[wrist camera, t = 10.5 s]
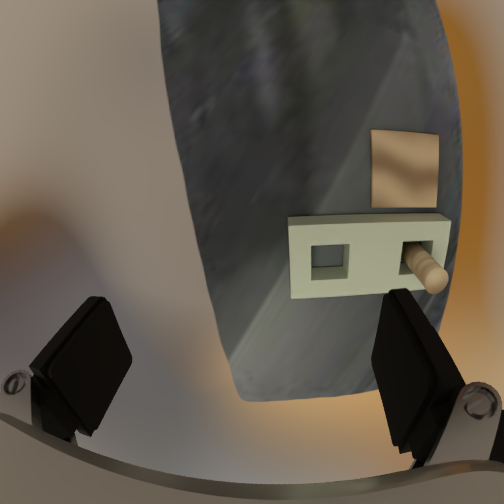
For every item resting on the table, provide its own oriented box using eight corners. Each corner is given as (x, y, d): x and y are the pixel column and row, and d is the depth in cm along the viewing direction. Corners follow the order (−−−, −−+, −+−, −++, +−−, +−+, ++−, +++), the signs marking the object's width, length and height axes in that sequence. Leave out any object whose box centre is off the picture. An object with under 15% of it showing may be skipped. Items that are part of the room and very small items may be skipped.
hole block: (287, 216, 36) (288, 225, 33) (439, 213, 34) (451, 221, 31) (290, 285, 41) (291, 298, 37) (429, 275, 38) (439, 287, 35)
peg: (397, 236, 36) (428, 270, 27) (417, 236, 36) (450, 268, 27) (395, 257, 37) (423, 295, 28) (414, 256, 37) (445, 292, 28)
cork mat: (370, 129, 31) (371, 129, 30) (436, 134, 30) (438, 135, 29) (370, 206, 35) (371, 207, 34) (434, 206, 34) (436, 207, 33)
